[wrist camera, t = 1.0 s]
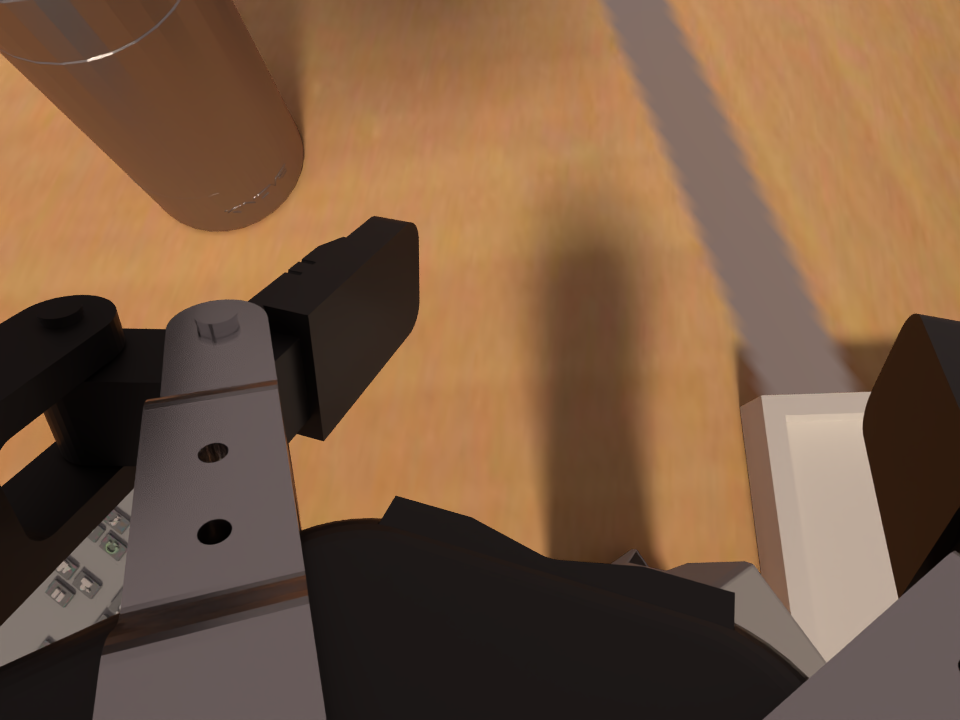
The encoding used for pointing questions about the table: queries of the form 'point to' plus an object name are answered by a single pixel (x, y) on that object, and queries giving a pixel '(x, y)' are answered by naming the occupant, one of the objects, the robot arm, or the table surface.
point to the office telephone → (73, 590)
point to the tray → (818, 513)
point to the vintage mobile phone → (749, 606)
